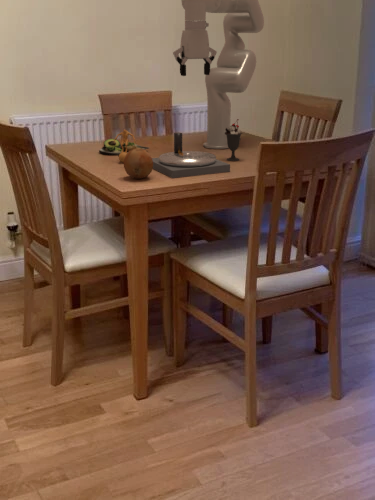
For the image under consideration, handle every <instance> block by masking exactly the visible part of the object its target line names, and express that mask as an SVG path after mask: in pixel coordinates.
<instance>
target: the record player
mask: <svg viewBox="0 0 375 500" xmlns="http://www.w3.org/2000/svg"><path fill="white" fill-rule="evenodd" d="M158 158H159V162H160V163H162V164H165V165H169V166H178V167H197V166H205V165H210V164H213V163H215V162H216V159H217V156H216V154H213V153H212V152H211V153H210V152H207V151H198V150H197V151H196V150H185V151H184V150H183V132H174V133H173V151H170V152H166V153H165V152H164V153H162V154H160V155H159V156H158Z"/></svg>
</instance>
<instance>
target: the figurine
mask: <svg viewBox="0 0 375 500" xmlns="http://www.w3.org/2000/svg"><path fill="white" fill-rule="evenodd" d="M119 136H122V139H121V142H120V144H121V147H122V152H121V153H120V154H119V155H118V161H119V162H121V163H123V164H124V159H125V156H126V154H127V148H128V147H127V145H128V142H130V141H129V139H128V137H129V136H130V137H132V138H133V143H134V144H136V138H135V136H134V134H132V133H131V132H129V131H128V130H126V129H123V130H122V131H121V132H120V133H118V134H117V135H116V137H114V139H115V140H118V139H117V138H118V137H119ZM115 140H114V142H115ZM124 143H125V144H126V151H125V152H123V149H124V148H123V146H122V145H123V144H124ZM136 145H137V144H136Z"/></svg>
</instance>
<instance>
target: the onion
mask: <svg viewBox="0 0 375 500" xmlns="http://www.w3.org/2000/svg"><path fill="white" fill-rule="evenodd" d="M152 158H153V157H152V156H151V153H149V152H148V151H147V150H146V149H145V150H144V149H141V148H137V149H133V150H130V151H129V152H128V153H127V154H126V156H125V159H124V163H123V168H124V170H125V172H126V174H127V175H128V176H129V177H131V178H132V179H137V180H138V179H140V180H141V179H144V178H147V177H148V176H149V175H150V174H151V173H152V171H153V170H154V169H153V160H152Z"/></svg>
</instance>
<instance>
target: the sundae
mask: <svg viewBox="0 0 375 500" xmlns="http://www.w3.org/2000/svg"><path fill="white" fill-rule="evenodd" d="M239 120H240V119H238V118H237V119H236V121H234V123H232V124H230V127H229V128H228V129H227V128H226V129H225V130H226V132H225V135H227V144H228V148H227V149H229V150H230V151H231V155H230V157H228V158H225V159H226V161H229V162H238V161H240V158H238V157H236V155H235V153H236V152H235V151H236V150H237V149H239V147H240V141H241V139H240V138H241V135H242V134H243V132H242V131H241V130H242V129H241V128H239V127H240V126H239V124H238V121H239Z"/></svg>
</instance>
